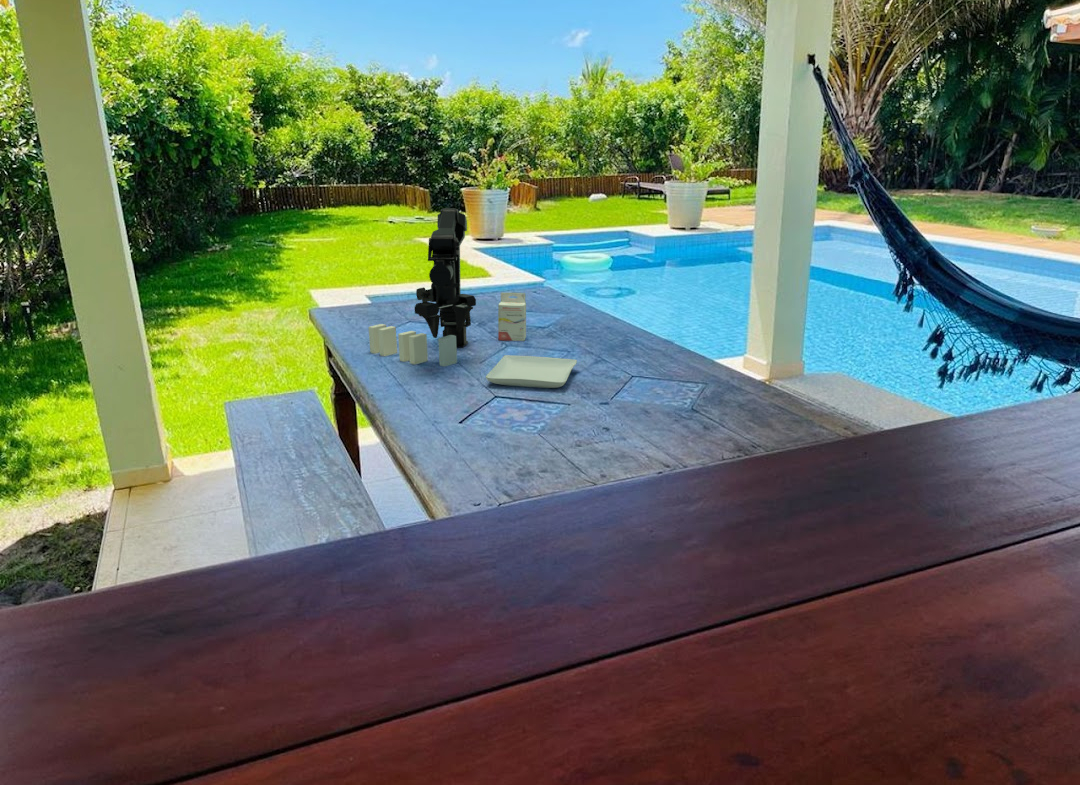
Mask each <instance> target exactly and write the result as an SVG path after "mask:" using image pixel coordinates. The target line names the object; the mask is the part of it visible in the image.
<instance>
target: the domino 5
mask: <svg viewBox="0 0 1080 785" xmlns="http://www.w3.org/2000/svg"><path fill="white" fill-rule="evenodd" d="M437 339H438V341H437V342H438V360H439V366H440V367H448V366H450V365H451V366H452V365H454V364H458V356H457V354H458V353H457V351H458V350H457V349H458V347H456V336H454V335H448V336H445V337H443V336H441V337H437Z"/></svg>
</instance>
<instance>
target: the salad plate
mask: <svg viewBox="0 0 1080 785" xmlns="http://www.w3.org/2000/svg"><path fill="white" fill-rule="evenodd" d="M577 363H578V360H577V359H572V358H557V357H546V356H532V355H531V356H530V355H514V354H513V355H512V354H505V355H504V356H502V357H501V359H500V360H499V361H498V363H497V364H496V365H495V366H494V367H493V368H492V369H491V370H490V371H489V372H488V373H487V374H486V376H485V379H486V380H487V381H488V382H489V383H493V384H495V385H499V386H500V385H501V386H511V387H523V388H525V387H526V388H541V389H555V388H560V387H562V386H564V385H565V384H566V382H567V380H569V376H570V374H571V372H572V371H573V368H574V367H575V366H576V364H577Z"/></svg>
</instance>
